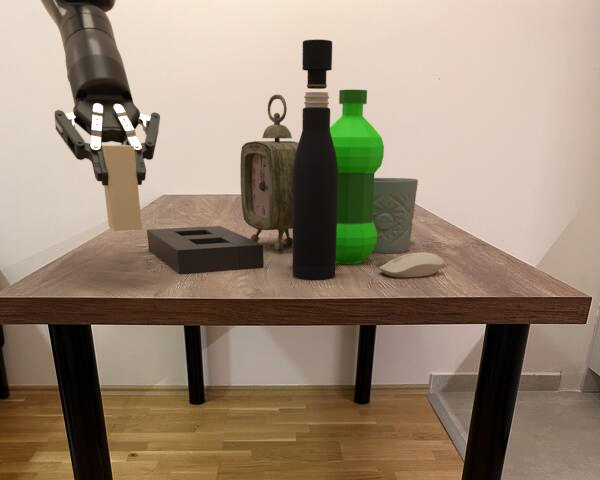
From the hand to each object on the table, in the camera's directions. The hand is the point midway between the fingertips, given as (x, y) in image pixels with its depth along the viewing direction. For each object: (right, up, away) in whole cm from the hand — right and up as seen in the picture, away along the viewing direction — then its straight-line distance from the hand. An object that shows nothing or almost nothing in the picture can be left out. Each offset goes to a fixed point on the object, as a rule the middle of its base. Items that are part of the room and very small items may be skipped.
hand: (122, 180), depth 80 cm
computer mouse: (+39, -8, +16) cm, 43 cm away
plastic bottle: (+30, -3, +25) cm, 40 cm away
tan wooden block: (-1, -5, +4) cm, 6 cm away
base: (+6, -2, +27) cm, 28 cm away
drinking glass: (+38, +2, +36) cm, 53 cm away
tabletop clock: (+19, +3, +38) cm, 42 cm away
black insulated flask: (+25, -9, +15) cm, 30 cm away
